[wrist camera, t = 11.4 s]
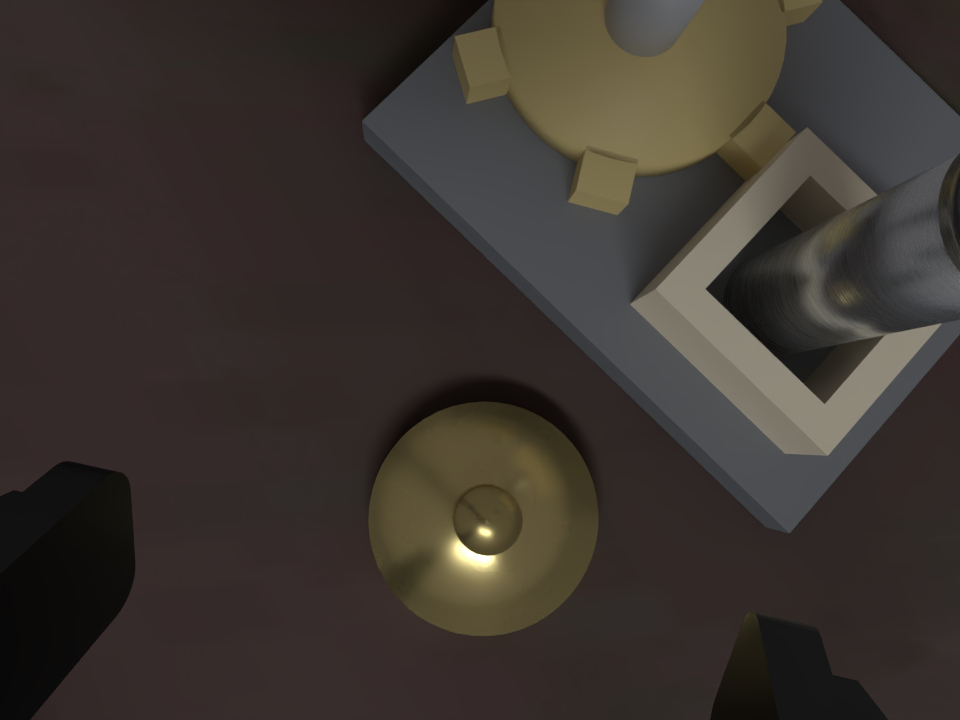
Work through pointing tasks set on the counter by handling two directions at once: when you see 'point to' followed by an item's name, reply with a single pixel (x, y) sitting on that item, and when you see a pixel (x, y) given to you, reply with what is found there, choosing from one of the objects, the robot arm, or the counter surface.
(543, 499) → the brass knob disc
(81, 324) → the counter surface
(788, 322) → the grey cylinder peg
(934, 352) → the gear board
